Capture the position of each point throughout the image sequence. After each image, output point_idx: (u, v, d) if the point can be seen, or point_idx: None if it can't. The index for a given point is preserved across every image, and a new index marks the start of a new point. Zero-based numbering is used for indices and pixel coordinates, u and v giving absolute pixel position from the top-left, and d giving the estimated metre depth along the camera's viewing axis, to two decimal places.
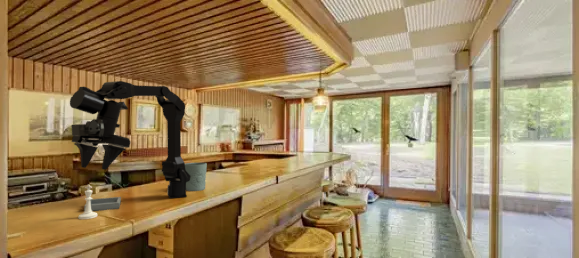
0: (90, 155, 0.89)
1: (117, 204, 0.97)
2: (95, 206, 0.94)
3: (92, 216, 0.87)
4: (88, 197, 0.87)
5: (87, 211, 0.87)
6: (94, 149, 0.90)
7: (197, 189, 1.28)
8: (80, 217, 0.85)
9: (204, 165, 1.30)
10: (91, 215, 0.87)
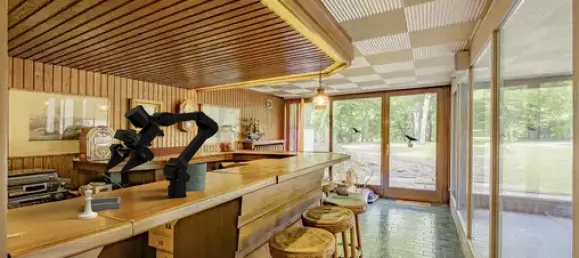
0: (117, 162, 1.00)
1: (117, 204, 0.97)
2: (95, 206, 0.94)
3: (92, 216, 0.87)
4: (88, 197, 0.87)
5: (87, 211, 0.87)
6: (122, 159, 1.02)
7: (197, 189, 1.28)
8: (80, 217, 0.85)
9: (204, 165, 1.30)
10: (91, 215, 0.87)
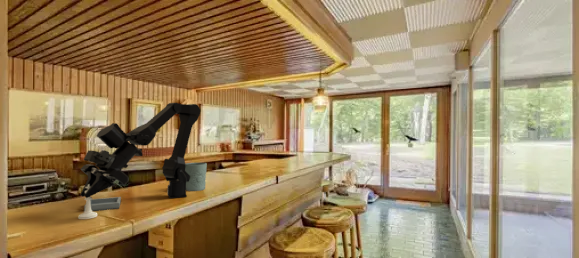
0: None
1: (117, 204, 0.97)
2: (95, 206, 0.94)
3: (92, 216, 0.87)
4: (88, 197, 0.87)
5: (87, 211, 0.87)
6: None
7: (197, 189, 1.28)
8: (80, 217, 0.85)
9: (204, 165, 1.30)
10: (91, 215, 0.87)
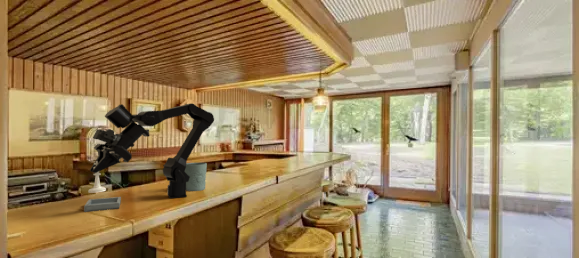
0: None
1: (117, 204, 0.97)
2: (95, 206, 0.94)
3: (100, 190, 0.93)
4: (96, 173, 0.94)
5: (96, 185, 0.93)
6: None
7: (197, 189, 1.28)
8: (89, 191, 0.92)
9: (204, 165, 1.30)
10: (99, 189, 0.93)
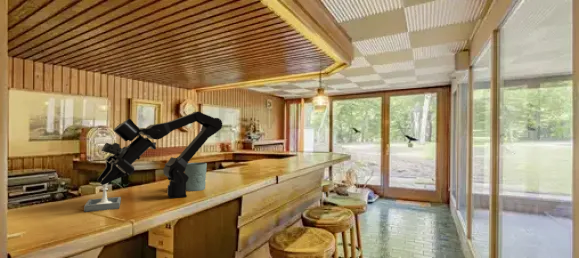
0: None
1: (117, 204, 0.97)
2: (95, 206, 0.94)
3: None
4: (104, 188, 0.99)
5: (103, 200, 0.99)
6: None
7: (197, 189, 1.28)
8: None
9: (204, 165, 1.30)
10: None
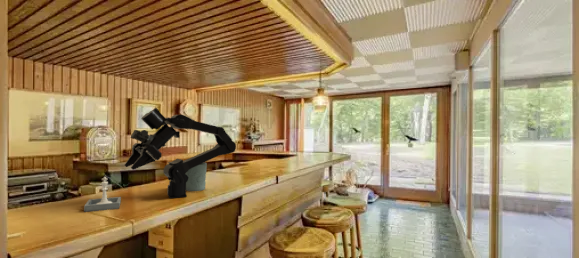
0: (136, 160, 1.11)
1: (117, 204, 0.97)
2: (95, 206, 0.94)
3: None
4: (104, 188, 0.99)
5: (103, 200, 0.98)
6: None
7: (197, 189, 1.28)
8: None
9: (204, 165, 1.30)
10: None
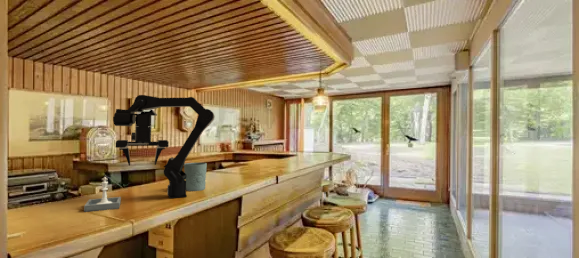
0: (156, 154, 1.15)
1: (117, 204, 0.97)
2: (95, 206, 0.94)
3: None
4: (104, 188, 0.99)
5: (103, 200, 0.98)
6: (156, 150, 1.15)
7: (197, 189, 1.28)
8: None
9: (204, 165, 1.30)
10: None
